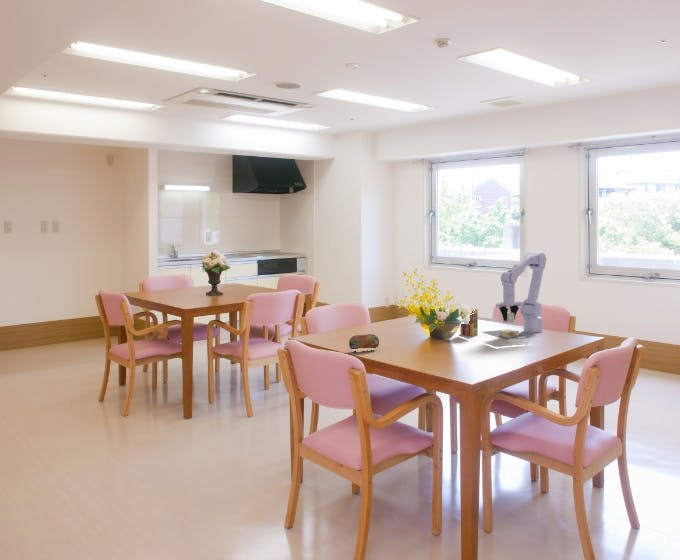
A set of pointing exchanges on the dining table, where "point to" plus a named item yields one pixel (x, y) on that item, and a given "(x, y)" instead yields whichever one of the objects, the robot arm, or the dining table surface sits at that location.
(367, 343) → the tin
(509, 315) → the sage block
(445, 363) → the dining table surface
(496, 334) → the slate mat
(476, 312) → the candy box
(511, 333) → the cream base block
